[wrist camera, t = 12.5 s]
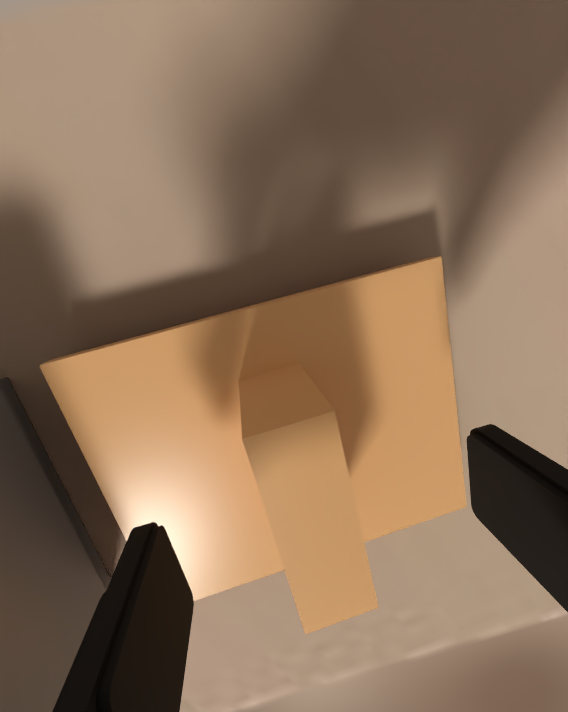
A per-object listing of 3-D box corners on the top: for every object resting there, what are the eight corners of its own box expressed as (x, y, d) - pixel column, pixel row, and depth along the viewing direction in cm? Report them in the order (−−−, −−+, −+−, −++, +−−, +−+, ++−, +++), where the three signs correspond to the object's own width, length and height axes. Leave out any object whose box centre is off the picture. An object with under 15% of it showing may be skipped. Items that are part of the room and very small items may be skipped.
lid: (412, 258, 14) (557, 247, 8) (440, 480, 17) (556, 596, 11) (68, 351, 13) (-89, 426, 7) (170, 571, 16) (131, 758, 10)
